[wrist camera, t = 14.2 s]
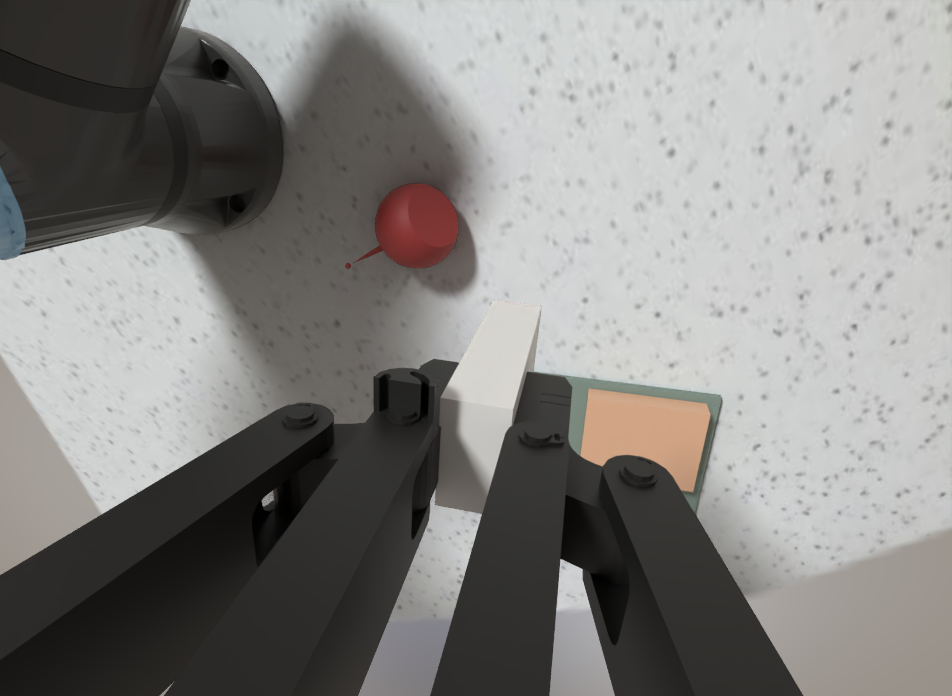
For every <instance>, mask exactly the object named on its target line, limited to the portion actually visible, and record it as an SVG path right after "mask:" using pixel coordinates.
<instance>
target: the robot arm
mask: <svg viewBox="0 0 952 696" xmlns="http://www.w3.org/2000/svg"><path fill="white" fill-rule="evenodd" d="M190 1H191V0H0V259H1V260H8V259H11V258H15V257H17V256H19V255H22V254H26V253H30V252H35V251H39V250H43V249H47V248H52V247H56V246H60V245H64V244H68V243H73V242H77V241H81V240H85V239H89V238H94V237H98V236H102V235H106V234H110V233H115V232H119V231H123V230H127V229H131V228H135V227H140V226H148V227H153V228H159V229H164V230H169V231H174V232H180V233H185V234H192V235H208V234H215V233H219V232H223V231H227V230H231V229H234V228H237V227H240V226H242V225H244V224H246V223H248V222H250V221H251V220H252V219H254V218H255V217H256V216H257V215H259V214H260V213H261V212H262V211H263V209H264V208H265V207H266V206H267V204H268V203H269V201H270V200H271V198H272V196H273V194H274V192H275V190H276V187H277V185H278V182H279V178H280V174H281V169H282V162H283V140H282V132H281V127H280V122H279V118H278V115H277V111H276V108H275V106H274V103H273V101H272V98H271V96H270V94H269V92H268V90H267V88H266V86H265V85H264V83H263V81H262V80H261V78H260V77H259V75H258V74H257V72H256V71H255V70H254V68H253V67H252V66H251V65H250V64H249V63H248V61H247V60H246V59H245V58H244V57H243V56H242V55H241V54H240V53H238V52H237V51H236V50H235V49H234V48H232V47H231V46H230V45H228V44H227V43H225V42H224V41H222V40H220V39H219V38H217V37H215V36H213V35H210V34H208V33H205V32H202V31H199V30H195V29H190V28H186V27H181V24H182V21H183V19H184V16H185V14H186V11H187V8H188V6H189V3H190ZM541 307H542V306H536V305H528V304H521V303H513V302H505V301H498V300H493V302H492V304H491V306H490V308H489V309H488V311H487V313H486V315H485V317H484V319H483V320H482V322H481V324H480V326H479V328H478V330H477V331H476V333H475V335H474V337H473V339H472V341H471V342H470V344H469V346H468V348H467V350H466V352H465V354H464V355H463V357H462V359H461V361H460V363H458V362H451V361H444V360H437V359H433V360H431V361H429V362H427V363H425V364H423V365H422V366H421V367H420V368H419V369H418V370H417V369H412V368H396V369H389V370H386V371H383V372H380V373H379V374H377V375H376V376H374V412H373V413H372V415H371V416H370V417H369V419H368V420H367V421H366V423H358V424H334V415H333V413H332V412H331V411H330V409H328V408H326V407H324V406H322V405H317V404H312V403H297V404H293V405H288V406H285V407H283V408H280V409H278V410H276V411H274V412H272V413H271V414H269V415H267V416H266V417H264V418H262V419H261V420H259V421H257V422H256V423H254V424H252V425H251V426H249V427H247V428H246V429H244V430H242V431H241V432H239V433H237V434H236V435H234V436H232V437H231V438H229V439H227V440H226V441H224V442H222V443H221V444H219V445H217V446H216V447H214V448H212V449H211V450H209V451H207V452H206V453H204V454H202V455H201V456H199V457H197V458H196V459H194V460H192V461H191V462H189V463H187V464H185V465H184V466H182V467H180V468H179V469H177V470H175V471H174V472H172V473H170V474H169V475H167V476H165V477H164V478H162V479H160V480H159V481H157V482H155V483H154V484H152V485H150V486H149V487H147V488H145V489H144V490H142V491H140V492H139V493H137V494H135V495H134V496H132V497H130V498H129V499H127V500H125V501H124V502H122V503H120V504H119V505H117V506H115V507H114V508H112V509H110V510H109V511H107V512H105V513H104V514H102V515H100V516H99V517H97V518H95V519H93V520H92V521H90V522H89V523H87V524H85V525H83V526H82V527H80V528H78V529H77V530H75V531H73V532H72V533H71V534H68V535H67V536H65V537H63V538H62V539H60V540H58V541H57V542H55V543H53V544H52V545H50V546H48V547H47V548H45V549H43V550H42V551H40V552H38V553H37V554H35V555H33V556H32V557H30V558H28V559H27V560H25V561H23V562H22V563H20V564H18V565H17V566H15V567H13V568H12V569H10V570H8V571H7V572H5V573H3V574H1V575H0V696H159V695H160V694H162V692H164V691H165V690H166V689H167V688H168V687H169V686H170V685H171V684H172V683H173V682H174V683H173V684H172V685H171V687H170V688H169V690H168V691H167V692H166V694H165V695H164V696H358V694H359V692H360V689H361V687H362V684H363V682H364V679H365V677H366V674H367V672H368V670H369V667H370V665H371V662H372V660H373V657H374V655H375V652H376V650H377V647H378V645H379V642H380V640H381V637H382V635H383V632H384V630H385V627H386V625H387V623H388V620H389V618H390V615H391V613H392V610H393V608H394V605H395V603H396V600H397V598H398V595H399V593H400V590H401V588H402V585H403V583H404V580H405V578H406V576H407V573H408V571H409V568H410V566H411V563H412V561H413V558H414V556H415V553H416V551H417V548H418V546H419V543H420V541H421V538H422V536H423V533H424V531H425V529H426V526H427V524H428V521H429V514H430V500H431V497H432V495H433V493H434V490H435V488H436V495H435V505H438V506H444V507H449V508H454V509H459V510H465V511H470V512H475V513H480V514H482V517H481V520H480V524H479V527H478V531H477V534H476V538H475V541H474V545H473V548H472V552H471V555H470V559H469V562H468V566H467V569H466V573H465V576H464V580H463V583H462V587H461V590H460V594H459V597H458V601H457V604H456V608H455V611H454V615H453V618H452V622H451V625H450V629H449V632H448V636H447V639H446V643H445V646H444V650H443V653H442V657H441V660H440V664H439V667H438V671H437V674H436V678H435V681H434V685H433V688H432V692H431V695H430V696H549V692H550V679H551V667H552V655H553V642H554V631H555V618H556V606H557V594H558V581H559V569H560V559H563V560H565V561H567V562H569V563H571V564H573V565H575V566H577V567H580V568H582V569H583V582H584V586H585V589H586V593H587V596H588V600H589V604H590V607H591V611H592V614H593V618H594V622H595V625H596V629H597V632H598V636H599V640H600V643H601V647H602V650H603V654H604V658H605V661H606V665H607V668H608V672H609V676H610V679H611V683H612V686H613V690H614V693H615V696H803V695H802V693H801V691H800V689H799V688H798V686H797V685H796V683H795V681H794V680H793V678H792V676H791V674H790V673H789V671H788V669H787V668H786V666H785V664H784V663H783V661H782V659H781V657H780V656H779V654H778V653H777V651H776V649H775V647H774V646H773V644H772V642H771V641H770V639H769V637H768V636H767V634H766V632H765V631H764V629H763V627H762V626H761V624H760V622H759V621H758V619H757V617H756V615H755V614H754V612H753V610H752V609H751V607H750V605H749V604H748V602H747V600H746V599H745V597H744V595H743V594H742V592H741V590H740V589H739V587H738V585H737V584H736V582H735V580H734V579H733V577H732V575H731V573H730V572H729V570H728V568H727V567H726V565H725V563H724V562H723V560H722V558H721V557H720V555H719V553H718V552H717V550H716V548H715V547H714V545H713V543H712V542H711V540H710V538H709V537H708V535H707V533H706V532H705V530H704V528H703V526H702V525H701V523H700V521H699V520H698V518H697V516H696V515H695V513H694V511H693V510H692V508H691V506H690V505H689V503H688V501H687V500H686V498H685V496H684V495H683V493H682V491H681V490H680V488H679V486H678V484H677V483H676V481H675V479H674V478H673V476H672V475H671V474H670V473H669V472H668V471H667V469H666V468H664V467H663V466H661V465H659V464H658V463H656V462H655V461H652V460H650V459H646V458H644V457H641V456H633V455H619V456H615V457H612V458H610V459H608V460H607V461H606V463H605V464H604V465H603V466H600V465H597V464H595V463H592V462H590V461H588V460H586V459H584V458H583V457H581V456H580V455H578V454H577V453H576V452H575V451H574V450H573V449H572V447H571V446H570V443H569V439H568V435H569V423H570V411H571V398H572V386H571V385H570V383H569V382H568V380H567V379H566V378H565V377H561V376H554V375H548V374H541V373H534V372H533V371H534V363H535V355H536V347H537V339H538V331H539V323H540V315H541ZM272 490H273V494H274V500H273V501H272V502H271V503H269V504H268V505H266V506H264V507H263V506H262V499H263V498H264V497H265V496H266V495H267V494H269V493H270V492H271V491H272Z"/></svg>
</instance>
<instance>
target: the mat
mask: <svg viewBox="0 0 952 696" xmlns="http://www.w3.org/2000/svg"><path fill="white" fill-rule="evenodd" d="M534 373H539V372H534ZM541 374H547V373H541ZM548 375H554V376H561V377H565V378H566V379H567V380H568V382H569V383H570V385H571V386H572V398H571V411H570V423H569V435H568V439H569V443H570V446H571V447H572V449H573V450H574V451H575V452H576V453H577V454H578V455H580V451H581V443H582V436H583V428H584V420H585V413H586V405H587V397H588V389H589V388H590V389H598V390H605V391H613V392H621V393H629V394H637V395H644V396H652V397H660V398H668V399H676V400H683V401H691V402H699V403H707V406H708V408H709V411H710V414H711V415H710V420H709V424H708V429H707V433H706V437H705V442H704V446H703V451H702V455H701V459H700V464H699V468H698V472H697V477H696V481H695V486H694V490H693V492H689V491H682V490H681V491H682V493H683V495H684V496H685V498H686V500H687V501H688V503H689V505H690V506H691V508H692V510H693V511H694V513H695V511H696V506H697V502H698V498H699V493H700V489H701V485H702V481H703V476H704V472H705V468H706V464H707V459H708V455H709V451H710V446H711V442H712V438H713V434H714V429H715V425H716V421H717V417H718V412H719V408H720V404H721V399H722V398H721V396H720V395H715V394H707V393H699V392H691V391H683V390H675V389H667V388H659V387H651V386H643V385H635V384H627V383H619V382H611V381H603V380H595V379H587V378H579V377H571V376H563V375H555V374H548Z"/></svg>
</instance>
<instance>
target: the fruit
mask: <svg viewBox="0 0 952 696" xmlns="http://www.w3.org/2000/svg"><path fill="white" fill-rule="evenodd" d="M375 233H376V237H377V240H378V242H379V245H380V246H378V247H377V248H375V249H373V250H372V251H370V252H369V253H367V254H366V255H364V256H363V257H361V258H360V259H358V260H357V261H359V260H362V259H364V258H367V257H369V256H372V255H374V254H376V253H379V252H381V251H384V252H385V254H386V255H387V256H388V257H389V258H390V259H392V260H393V261H394V262H396V263H398V264H400V265H402V266H405V267H409V268H426V267H430V266H433V265H435V264H437V263H439V262H440V261H442V260H443V259H444V258H445V257H446V256H447V255H448V254H449V253H450V252H451V250H452V249H453V247H454V245H455V242H456V240H457V236H458V218H457V214H456V211H455V209H454V207H453V205H452V203H451V202H450V200H449V199H448V198H447V197H446V196H445V195H444V194H443V193H442V192H440V191H439V190H437V189H436V188H434V187H431V186H429V185H425V184H420V183H412V184H406V185H402V186H400V187H398V188H396V189H394V190H393V191H391V192H390V193H389V194H388V195H387V196H386V197H385V198H384V199H383V201H382V202H381V204H380V205H379V208H378V210H377V213H376V217H375ZM357 261H355V262H357ZM355 262H354V263H355ZM345 267H346V268H347V269H349V268H351V265H350V264H349V263H347V264H346V265H345Z"/></svg>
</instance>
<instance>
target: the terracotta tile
mask: <svg viewBox="0 0 952 696" xmlns="http://www.w3.org/2000/svg"><path fill="white" fill-rule="evenodd" d="M710 415H711V414H710V411H709V408H708V406H707V403H699V402H691V401H683V400H676V399H668V398H660V397H652V396H644V395H637V394H629V393H621V392H613V391H605V390H598V389H590V388H589V389H588V397H587V405H586V413H585V420H584V428H583V436H582V443H581V451H580V456H581V457H583V458H584V459H586V460H588V461H590V462H592V463H595V464H597V465H600V466H603V465H604V464H605V463H606V461H607V460H608V459H610V458H612V457H615V456H619V455H633V456H641V457H644V458H646V459H650V460H652V461H655V462H656V463H658V464H659V465H661V466H663V467H664V468H666V469H667V471H668V472H669V473H670V474H671V475H672V476H673V478H674V479H675V481H676V483H677V484H678V486H679V488H680V490H682V491H689V492H693V490H694V486H695V481H696V477H697V472H698V468H699V464H700V459H701V455H702V451H703V446H704V442H705V437H706V433H707V429H708V424H709V420H710Z"/></svg>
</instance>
